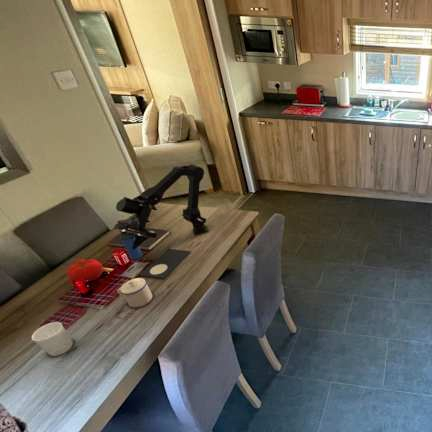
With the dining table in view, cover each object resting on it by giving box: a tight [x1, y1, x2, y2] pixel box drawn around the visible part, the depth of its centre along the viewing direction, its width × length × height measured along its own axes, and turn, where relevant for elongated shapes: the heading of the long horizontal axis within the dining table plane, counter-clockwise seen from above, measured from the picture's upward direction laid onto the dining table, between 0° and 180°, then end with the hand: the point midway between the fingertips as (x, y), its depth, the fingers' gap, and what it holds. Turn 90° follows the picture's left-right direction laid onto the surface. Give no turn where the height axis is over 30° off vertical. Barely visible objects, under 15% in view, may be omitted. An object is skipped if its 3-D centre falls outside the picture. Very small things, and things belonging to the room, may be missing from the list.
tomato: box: [66, 258, 104, 282], centre depth 143 cm, size 11×12×9 cm
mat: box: [139, 248, 191, 280], centre depth 156 cm, size 20×12×1 cm, turn 174°
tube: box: [120, 233, 144, 262], centre depth 147 cm, size 5×5×13 cm
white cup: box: [31, 321, 74, 357], centre depth 113 cm, size 8×8×10 cm
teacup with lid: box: [117, 277, 153, 308], centre depth 133 cm, size 12×9×12 cm
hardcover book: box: [107, 226, 171, 251], centre depth 170 cm, size 16×23×2 cm
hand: (129, 248), depth 146 cm, fingers closed on tube, 5 cm apart
